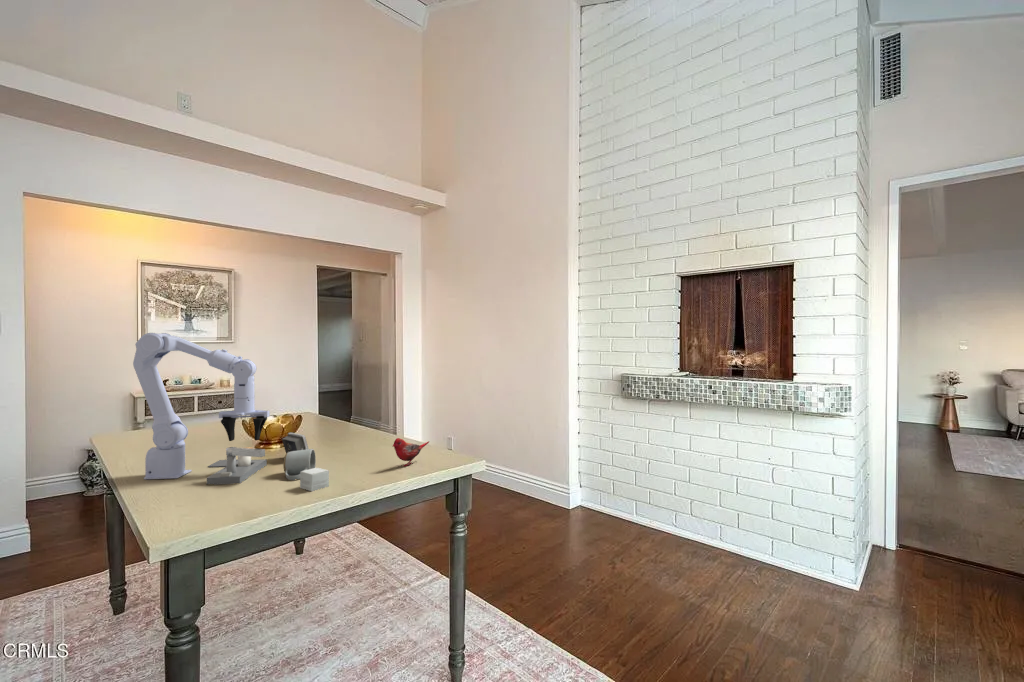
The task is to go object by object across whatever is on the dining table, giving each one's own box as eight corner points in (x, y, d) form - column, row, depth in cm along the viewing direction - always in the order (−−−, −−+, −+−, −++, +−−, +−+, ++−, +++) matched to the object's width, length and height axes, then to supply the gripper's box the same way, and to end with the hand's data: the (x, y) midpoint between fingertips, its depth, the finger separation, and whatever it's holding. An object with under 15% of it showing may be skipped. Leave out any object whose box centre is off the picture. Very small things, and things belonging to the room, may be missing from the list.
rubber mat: (207, 467, 154) (207, 466, 154) (219, 461, 162) (219, 460, 162) (233, 466, 155) (233, 465, 155) (244, 460, 163) (244, 459, 163)
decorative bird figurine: (389, 469, 152) (389, 439, 152) (426, 458, 167) (426, 430, 167) (395, 471, 150) (395, 440, 150) (432, 459, 165) (432, 430, 165)
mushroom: (232, 473, 148) (232, 450, 148) (239, 469, 152) (239, 447, 152) (249, 472, 148) (249, 450, 148) (255, 468, 153) (255, 447, 153)
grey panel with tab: (206, 484, 136) (206, 459, 136) (237, 466, 156) (237, 444, 156) (239, 483, 137) (239, 458, 137) (266, 465, 157) (266, 443, 157)
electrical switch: (311, 459, 165) (309, 433, 164) (298, 464, 160) (295, 437, 159) (296, 456, 170) (293, 430, 169) (282, 460, 165) (279, 434, 165)
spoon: (231, 453, 143) (231, 446, 143) (266, 455, 140) (266, 448, 140) (224, 455, 140) (224, 448, 140) (259, 457, 138) (259, 450, 138)
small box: (329, 486, 135) (329, 469, 135) (311, 492, 130) (311, 474, 130) (317, 483, 138) (317, 466, 138) (299, 488, 133) (299, 471, 133)
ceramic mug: (289, 471, 150) (288, 447, 150) (316, 470, 151) (316, 446, 151) (279, 482, 139) (278, 456, 139) (308, 480, 141) (308, 454, 141)
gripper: (213, 399, 145) (213, 443, 145) (263, 398, 147) (263, 442, 147) (224, 396, 152) (224, 438, 152) (272, 396, 154) (272, 437, 154)
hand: (244, 440), depth 150 cm, fingers open, 7 cm apart
